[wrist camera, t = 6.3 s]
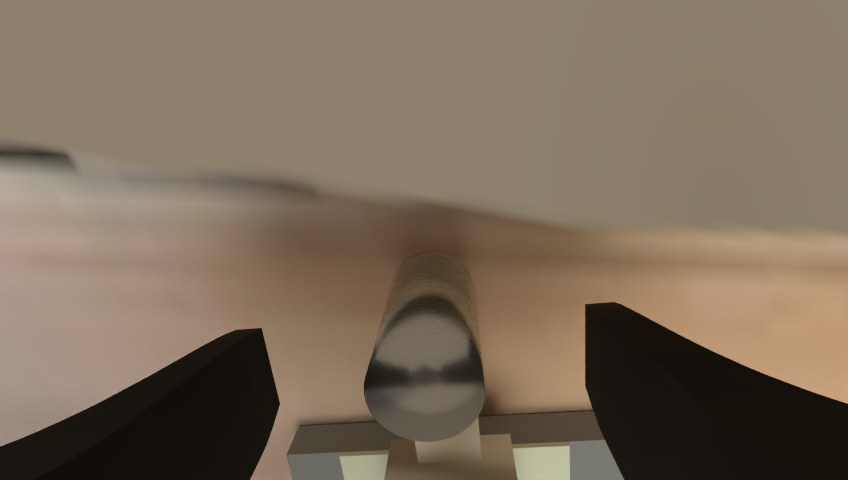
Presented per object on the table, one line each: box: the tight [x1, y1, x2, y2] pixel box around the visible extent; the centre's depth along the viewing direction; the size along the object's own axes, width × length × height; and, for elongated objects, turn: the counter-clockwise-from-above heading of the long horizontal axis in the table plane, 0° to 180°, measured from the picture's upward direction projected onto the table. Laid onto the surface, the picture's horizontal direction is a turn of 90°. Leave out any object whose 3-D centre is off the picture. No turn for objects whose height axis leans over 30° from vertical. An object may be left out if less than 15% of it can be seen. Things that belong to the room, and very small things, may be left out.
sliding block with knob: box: [364, 252, 518, 480], centre depth 13 cm, size 4×11×5 cm, turn 6°
